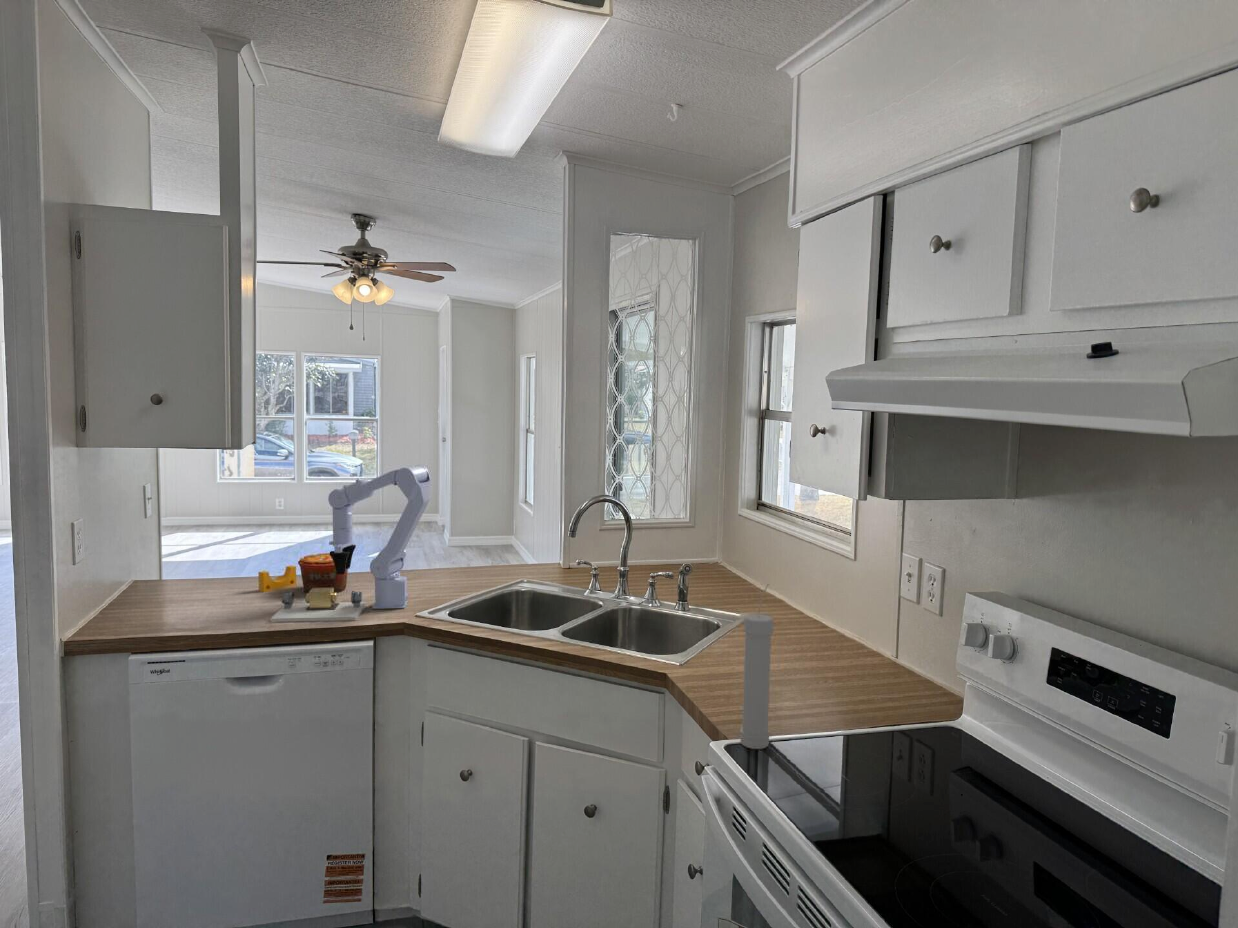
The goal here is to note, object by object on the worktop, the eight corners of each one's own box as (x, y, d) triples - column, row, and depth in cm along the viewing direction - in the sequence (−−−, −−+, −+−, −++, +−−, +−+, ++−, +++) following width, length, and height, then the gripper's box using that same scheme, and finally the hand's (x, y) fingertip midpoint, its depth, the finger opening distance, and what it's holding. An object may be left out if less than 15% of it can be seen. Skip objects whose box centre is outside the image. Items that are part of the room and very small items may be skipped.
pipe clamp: (288, 583, 265) (287, 564, 264) (296, 585, 263) (296, 566, 262) (255, 590, 255) (255, 571, 254) (263, 592, 252) (263, 573, 252)
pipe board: (366, 605, 239) (365, 586, 239) (355, 620, 223) (355, 600, 223) (286, 606, 236) (286, 587, 236) (270, 622, 220) (270, 602, 220)
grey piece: (734, 744, 148) (739, 587, 145) (750, 733, 153) (755, 581, 150) (760, 752, 144) (766, 592, 142) (776, 741, 149) (781, 586, 147)
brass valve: (338, 603, 235) (337, 587, 235) (335, 607, 231) (334, 591, 230) (308, 604, 234) (308, 587, 234) (305, 608, 230) (304, 591, 229)
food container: (295, 586, 260) (295, 554, 259) (346, 582, 267) (346, 551, 266) (301, 598, 246) (300, 564, 245) (354, 592, 253) (354, 560, 252)
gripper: (334, 523, 248) (335, 566, 249) (323, 531, 233) (324, 576, 235) (357, 523, 249) (358, 565, 250) (348, 531, 234) (348, 576, 235)
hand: (343, 571), depth 242 cm, fingers open, 7 cm apart
